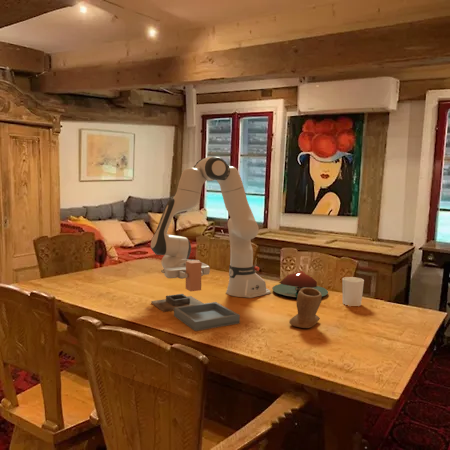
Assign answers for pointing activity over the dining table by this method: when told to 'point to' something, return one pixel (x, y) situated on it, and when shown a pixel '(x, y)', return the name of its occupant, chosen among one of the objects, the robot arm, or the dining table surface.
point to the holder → (175, 302)
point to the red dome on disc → (297, 284)
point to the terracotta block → (193, 275)
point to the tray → (206, 316)
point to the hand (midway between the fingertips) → (194, 274)
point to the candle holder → (352, 291)
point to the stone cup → (307, 308)
